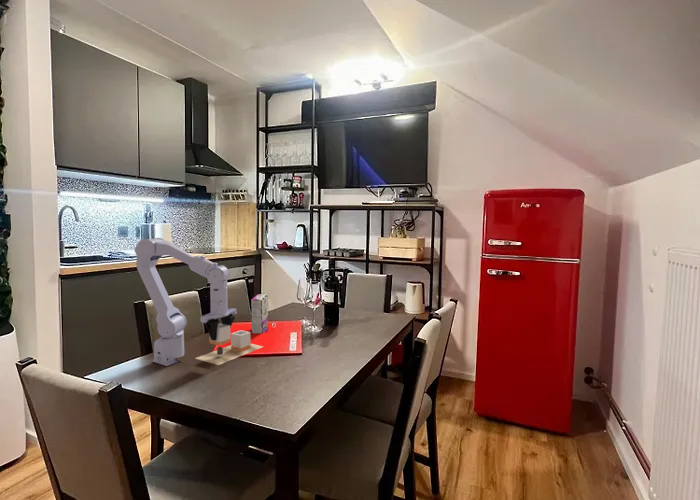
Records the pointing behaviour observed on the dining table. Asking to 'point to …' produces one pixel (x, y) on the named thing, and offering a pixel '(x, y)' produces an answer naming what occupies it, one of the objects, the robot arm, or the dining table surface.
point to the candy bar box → (259, 313)
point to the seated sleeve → (240, 340)
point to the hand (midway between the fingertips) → (219, 337)
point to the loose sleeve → (222, 335)
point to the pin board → (226, 354)
